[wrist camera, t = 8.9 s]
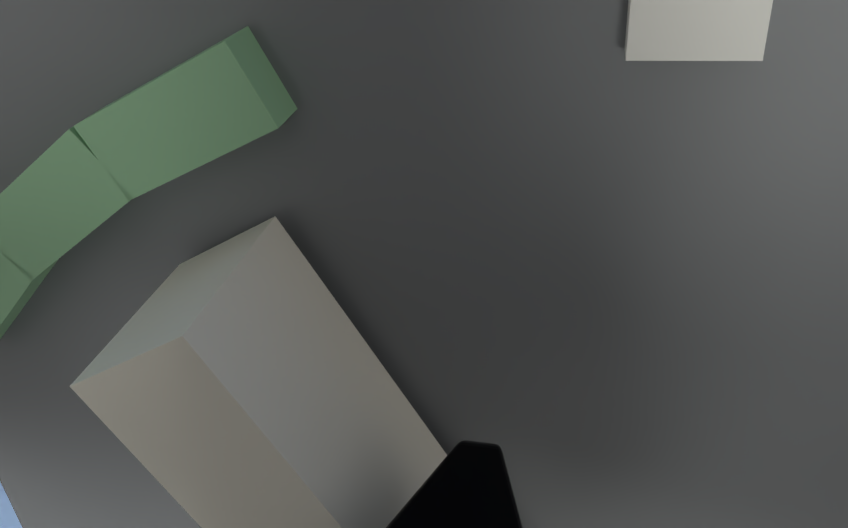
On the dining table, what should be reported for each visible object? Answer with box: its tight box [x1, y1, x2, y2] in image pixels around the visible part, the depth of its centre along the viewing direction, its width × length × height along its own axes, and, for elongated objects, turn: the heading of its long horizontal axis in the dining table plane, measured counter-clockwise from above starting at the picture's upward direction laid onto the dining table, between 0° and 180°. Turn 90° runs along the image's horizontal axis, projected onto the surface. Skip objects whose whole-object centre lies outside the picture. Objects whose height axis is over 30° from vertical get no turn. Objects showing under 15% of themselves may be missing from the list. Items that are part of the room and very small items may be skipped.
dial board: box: [0, 0, 848, 528], centre depth 11 cm, size 16×21×2 cm
